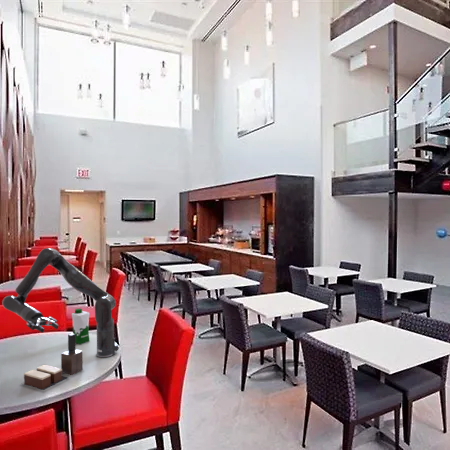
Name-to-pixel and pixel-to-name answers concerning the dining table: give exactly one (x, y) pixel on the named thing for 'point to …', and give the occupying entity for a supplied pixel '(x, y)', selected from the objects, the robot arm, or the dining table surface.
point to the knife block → (71, 362)
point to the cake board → (49, 385)
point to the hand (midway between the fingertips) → (50, 329)
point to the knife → (71, 343)
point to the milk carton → (81, 326)
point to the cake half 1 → (37, 379)
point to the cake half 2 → (51, 372)
